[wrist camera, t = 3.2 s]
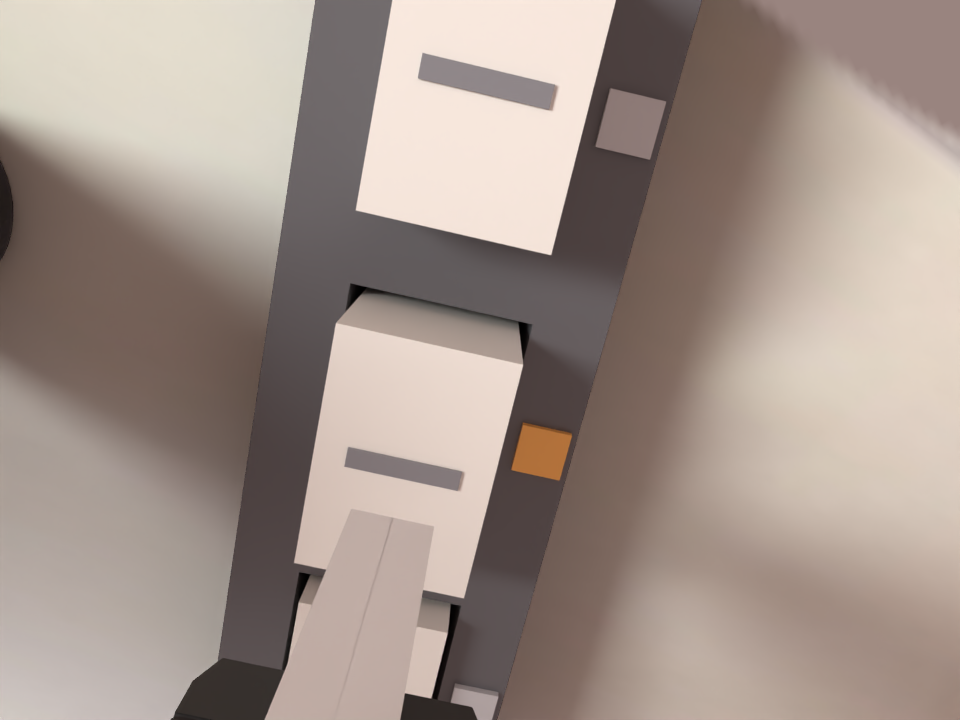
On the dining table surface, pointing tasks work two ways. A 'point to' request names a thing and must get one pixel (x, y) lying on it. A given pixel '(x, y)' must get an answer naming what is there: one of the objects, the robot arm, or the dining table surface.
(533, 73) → the button
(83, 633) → the dining table surface
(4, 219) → the travel mug
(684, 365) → the dining table surface
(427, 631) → the button
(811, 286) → the dining table surface
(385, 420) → the button
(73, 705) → the dining table surface
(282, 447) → the power strip
